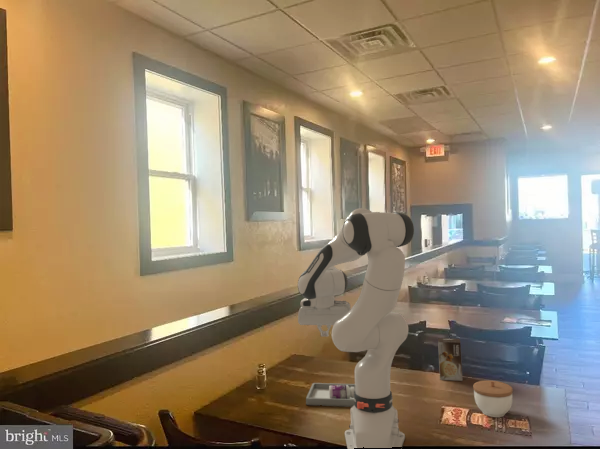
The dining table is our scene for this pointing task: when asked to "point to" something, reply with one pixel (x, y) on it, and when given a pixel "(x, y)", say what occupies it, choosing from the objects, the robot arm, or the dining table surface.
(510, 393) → the lidded bowl
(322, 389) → the grey tray
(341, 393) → the pill bottle
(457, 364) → the food box
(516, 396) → the dining table surface
